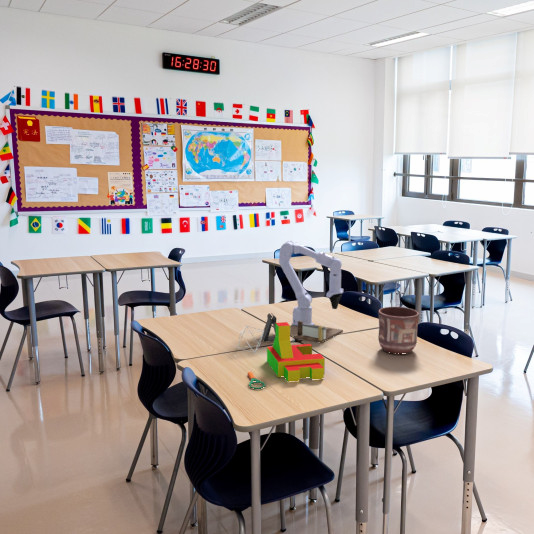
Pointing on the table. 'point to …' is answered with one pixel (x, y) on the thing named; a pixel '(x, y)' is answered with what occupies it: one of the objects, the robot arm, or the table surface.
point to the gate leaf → (312, 330)
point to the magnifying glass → (254, 380)
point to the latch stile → (320, 333)
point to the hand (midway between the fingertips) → (334, 308)
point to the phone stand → (269, 328)
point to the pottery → (398, 329)
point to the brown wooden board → (329, 333)
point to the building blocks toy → (293, 357)
